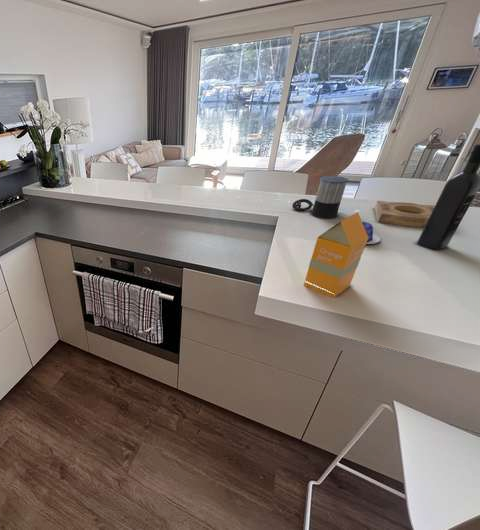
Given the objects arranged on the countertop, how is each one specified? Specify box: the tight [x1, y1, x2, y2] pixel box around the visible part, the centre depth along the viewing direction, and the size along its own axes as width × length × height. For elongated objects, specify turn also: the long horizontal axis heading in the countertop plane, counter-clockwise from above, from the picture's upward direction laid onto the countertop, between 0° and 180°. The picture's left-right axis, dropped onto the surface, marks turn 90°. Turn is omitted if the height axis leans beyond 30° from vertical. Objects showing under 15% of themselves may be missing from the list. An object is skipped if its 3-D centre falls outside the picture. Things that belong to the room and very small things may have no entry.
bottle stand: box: [374, 200, 436, 228], centre depth 109 cm, size 18×17×4 cm
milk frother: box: [292, 175, 349, 219], centre depth 118 cm, size 14×16×15 cm
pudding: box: [362, 221, 381, 245], centre depth 98 cm, size 12×12×5 cm
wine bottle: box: [416, 143, 480, 251], centre depth 84 cm, size 6×6×30 cm
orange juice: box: [303, 212, 369, 299], centre depth 73 cm, size 8×9×20 cm
